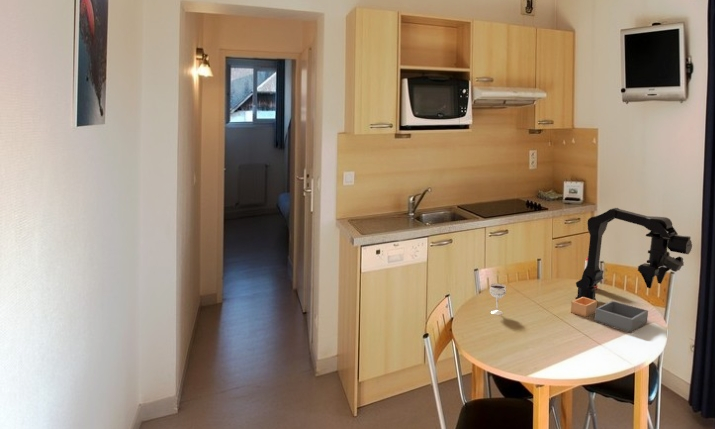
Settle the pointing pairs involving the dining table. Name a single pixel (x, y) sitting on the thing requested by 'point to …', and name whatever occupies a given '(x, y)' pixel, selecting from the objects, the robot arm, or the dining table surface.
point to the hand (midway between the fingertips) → (654, 285)
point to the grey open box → (621, 316)
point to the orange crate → (583, 306)
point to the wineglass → (497, 295)
